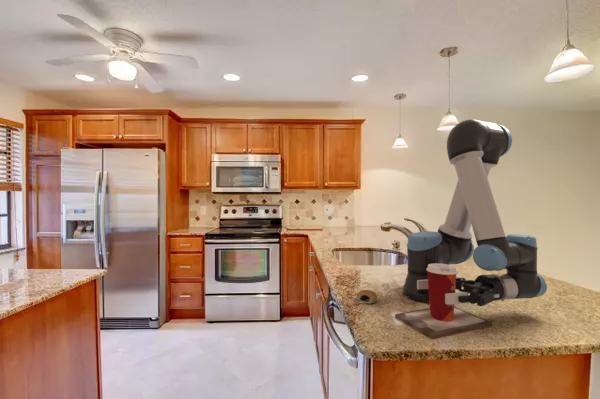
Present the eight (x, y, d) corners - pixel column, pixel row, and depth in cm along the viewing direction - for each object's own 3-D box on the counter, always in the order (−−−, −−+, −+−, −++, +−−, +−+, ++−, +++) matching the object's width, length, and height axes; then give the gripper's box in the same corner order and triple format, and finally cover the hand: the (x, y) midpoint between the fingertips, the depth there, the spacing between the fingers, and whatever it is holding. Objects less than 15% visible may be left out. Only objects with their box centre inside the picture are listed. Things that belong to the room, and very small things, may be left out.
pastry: (361, 294, 105) (361, 284, 105) (379, 297, 102) (379, 287, 102) (355, 302, 97) (355, 292, 97) (374, 306, 94) (375, 295, 94)
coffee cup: (462, 324, 76) (462, 270, 76) (430, 321, 78) (430, 268, 78) (452, 312, 85) (452, 263, 85) (423, 310, 86) (423, 262, 86)
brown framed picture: (395, 317, 84) (395, 311, 84) (449, 307, 91) (449, 301, 92) (431, 339, 71) (431, 331, 71) (491, 325, 78) (491, 318, 78)
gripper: (535, 315, 72) (462, 322, 69) (464, 287, 96) (407, 290, 93) (534, 287, 72) (462, 291, 69) (464, 265, 96) (407, 268, 93)
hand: (430, 291), depth 81 cm, fingers open, 12 cm apart
